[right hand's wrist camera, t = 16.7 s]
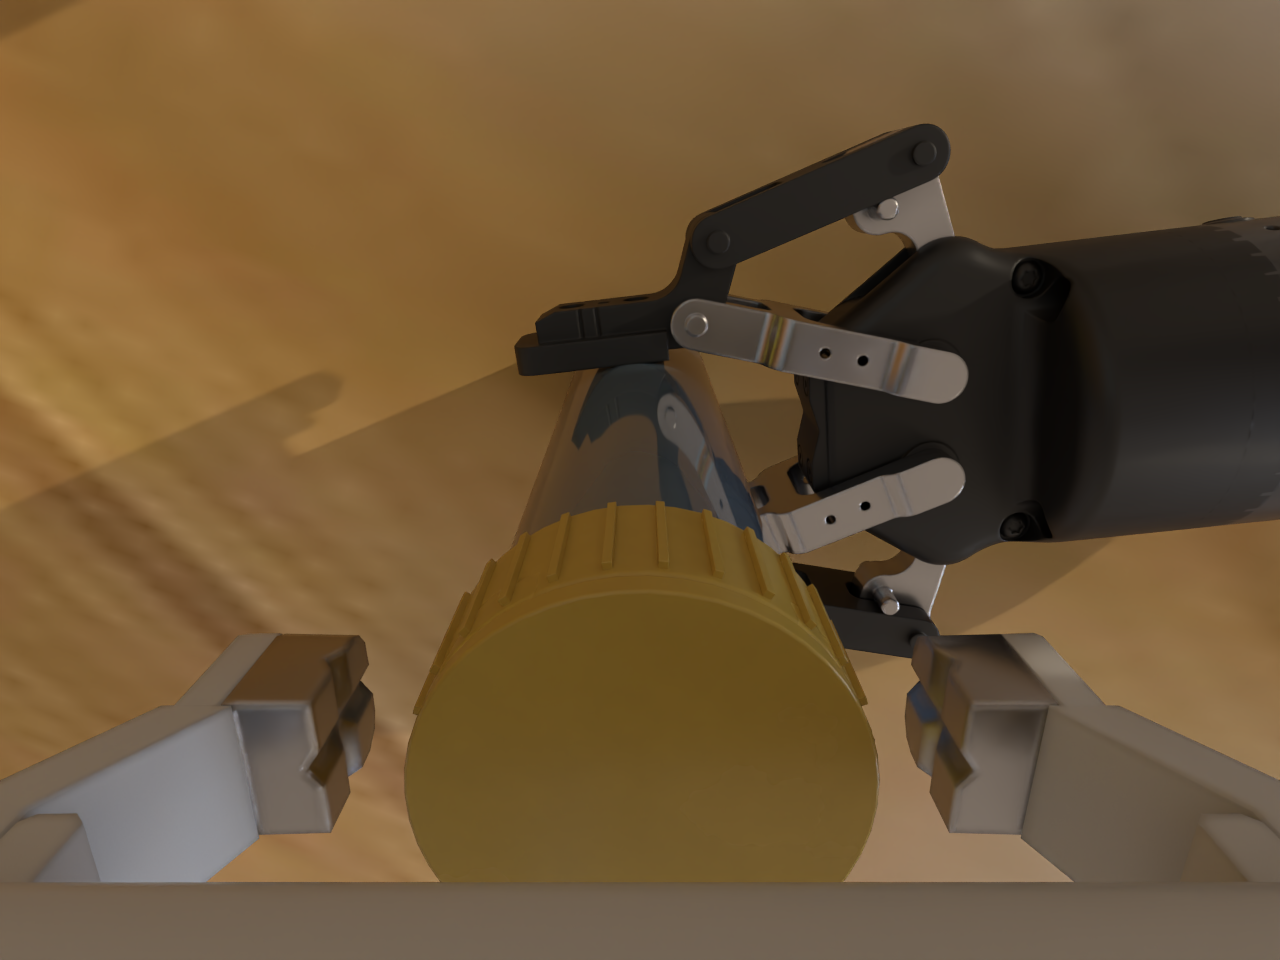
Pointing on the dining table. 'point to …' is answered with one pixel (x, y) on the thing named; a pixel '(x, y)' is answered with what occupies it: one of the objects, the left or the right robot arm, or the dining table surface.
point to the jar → (642, 447)
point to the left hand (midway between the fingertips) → (539, 450)
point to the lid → (641, 714)
